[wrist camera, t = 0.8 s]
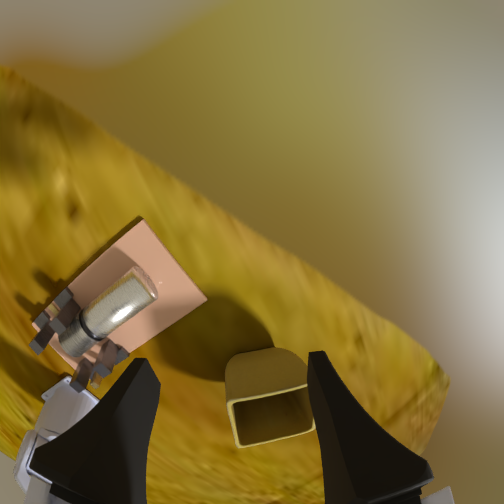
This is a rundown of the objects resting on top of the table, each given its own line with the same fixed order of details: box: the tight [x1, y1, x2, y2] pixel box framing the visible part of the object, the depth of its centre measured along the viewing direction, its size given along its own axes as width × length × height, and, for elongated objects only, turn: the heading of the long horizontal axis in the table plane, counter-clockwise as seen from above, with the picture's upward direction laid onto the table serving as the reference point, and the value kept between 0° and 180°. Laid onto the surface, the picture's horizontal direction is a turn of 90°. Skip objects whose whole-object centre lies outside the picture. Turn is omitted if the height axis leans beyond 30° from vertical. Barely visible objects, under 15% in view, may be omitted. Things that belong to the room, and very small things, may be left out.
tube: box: [58, 266, 158, 357], centre depth 23 cm, size 12×4×4 cm, turn 123°
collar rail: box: [29, 287, 130, 393], centre depth 23 cm, size 7×10×4 cm
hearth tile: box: [32, 219, 207, 379], centre depth 25 cm, size 20×10×1 cm, turn 123°
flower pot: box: [225, 347, 315, 448], centre depth 27 cm, size 9×9×9 cm
